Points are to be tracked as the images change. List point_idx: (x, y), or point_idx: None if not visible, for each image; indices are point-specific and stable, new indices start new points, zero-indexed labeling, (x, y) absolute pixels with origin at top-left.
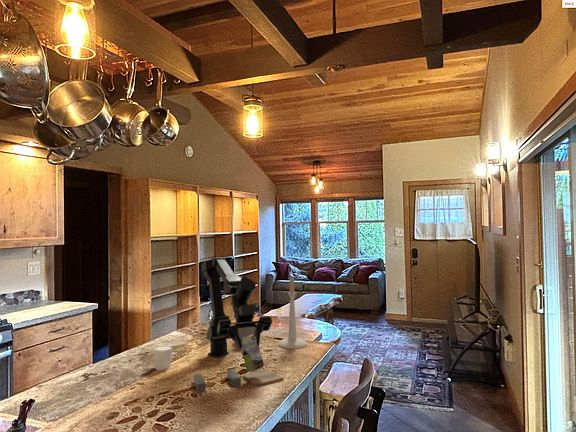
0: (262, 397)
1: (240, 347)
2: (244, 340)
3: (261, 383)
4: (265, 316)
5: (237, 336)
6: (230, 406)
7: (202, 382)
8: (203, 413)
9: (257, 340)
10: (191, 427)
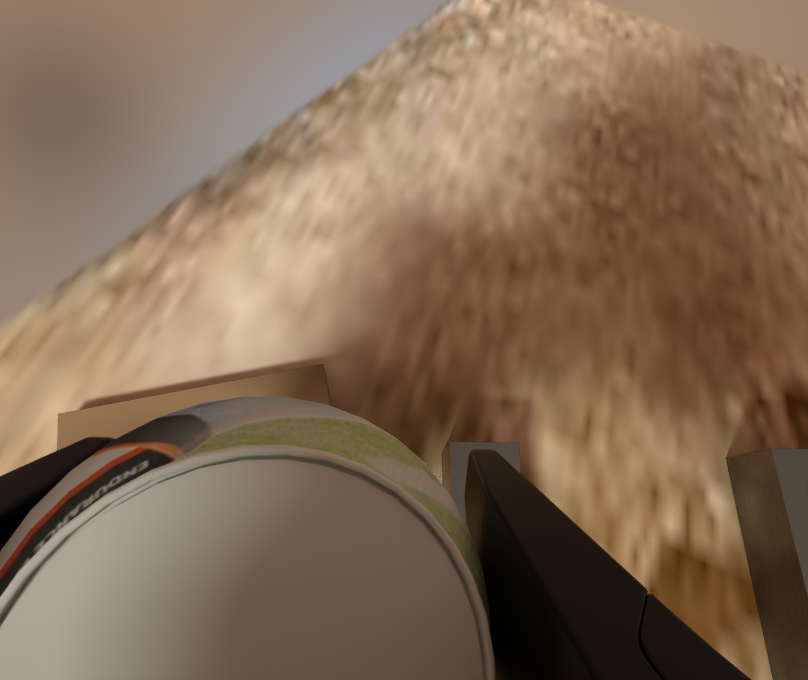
0: (366, 200)
1: (495, 456)
2: (404, 477)
3: (289, 370)
4: None
5: (635, 632)
6: (577, 170)
7: (801, 474)
8: (726, 154)
9: (36, 490)
10: (774, 62)
